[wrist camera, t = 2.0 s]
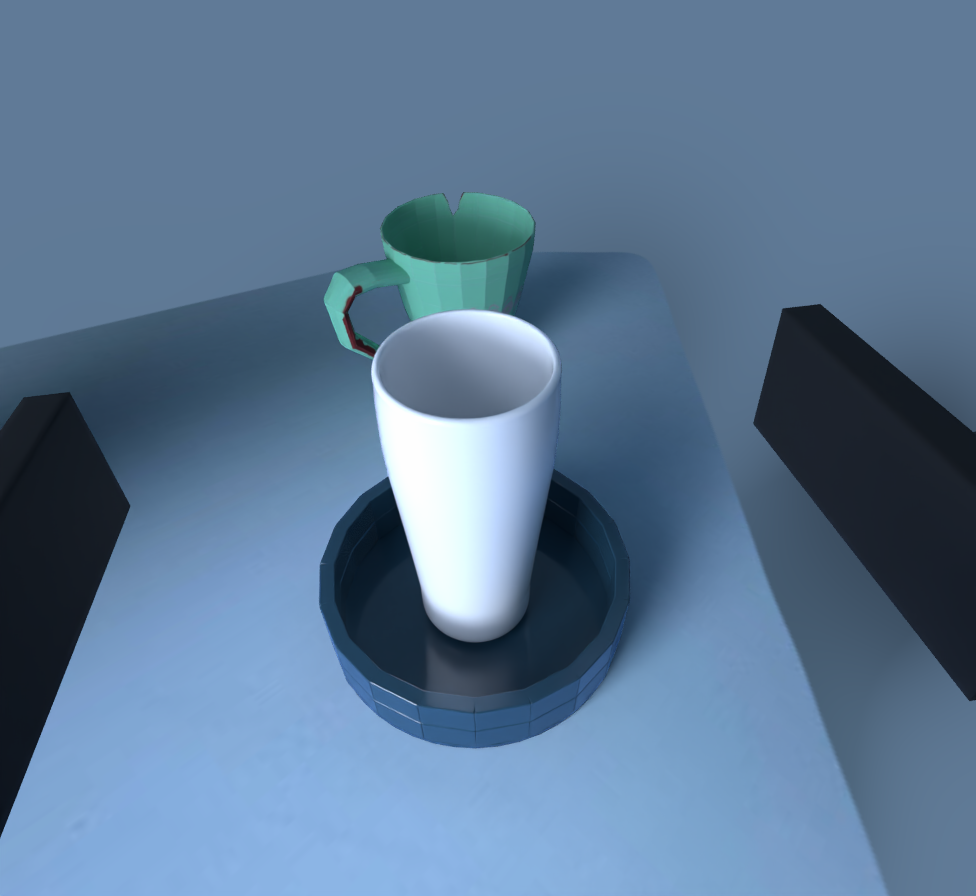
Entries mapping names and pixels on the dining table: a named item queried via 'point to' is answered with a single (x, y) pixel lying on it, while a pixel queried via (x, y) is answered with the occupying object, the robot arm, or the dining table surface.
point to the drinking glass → (470, 459)
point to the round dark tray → (483, 665)
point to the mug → (441, 261)
